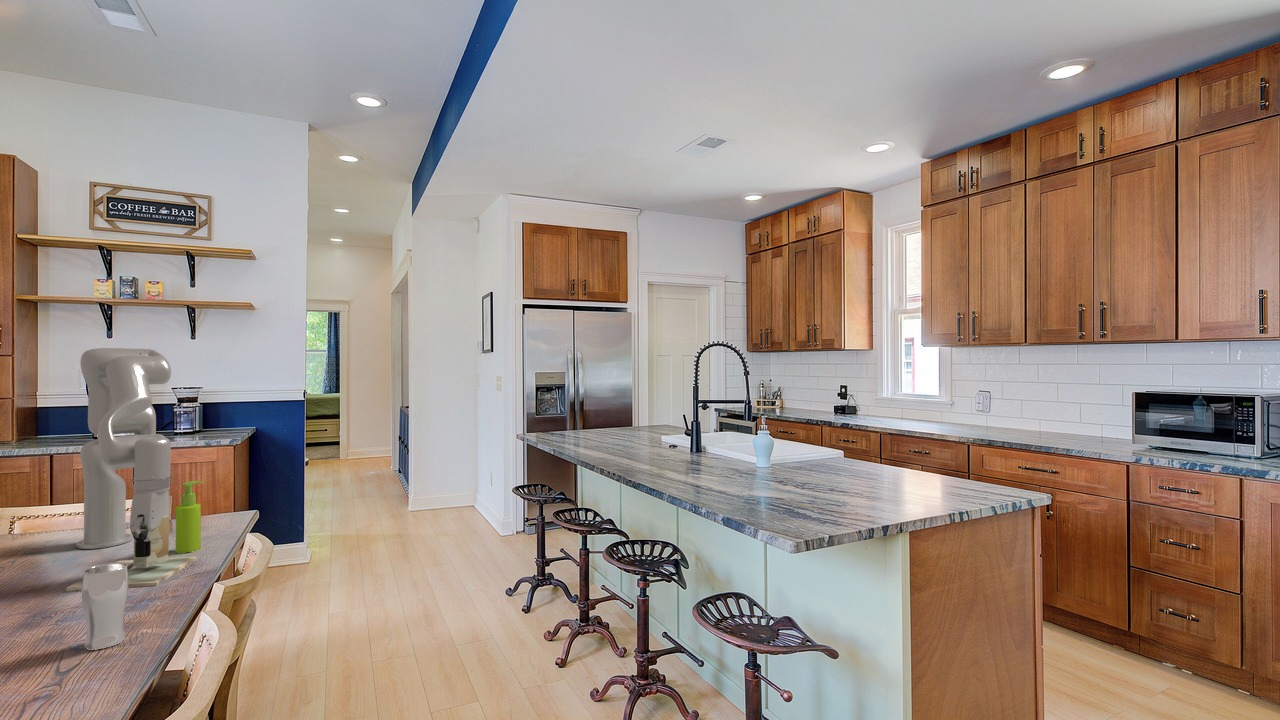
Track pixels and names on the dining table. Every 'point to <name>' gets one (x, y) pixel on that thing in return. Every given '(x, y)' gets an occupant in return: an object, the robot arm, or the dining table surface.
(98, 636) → the beer glass
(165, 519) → the skincare box
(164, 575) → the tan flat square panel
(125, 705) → the dining table surface
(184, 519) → the soap dispenser
